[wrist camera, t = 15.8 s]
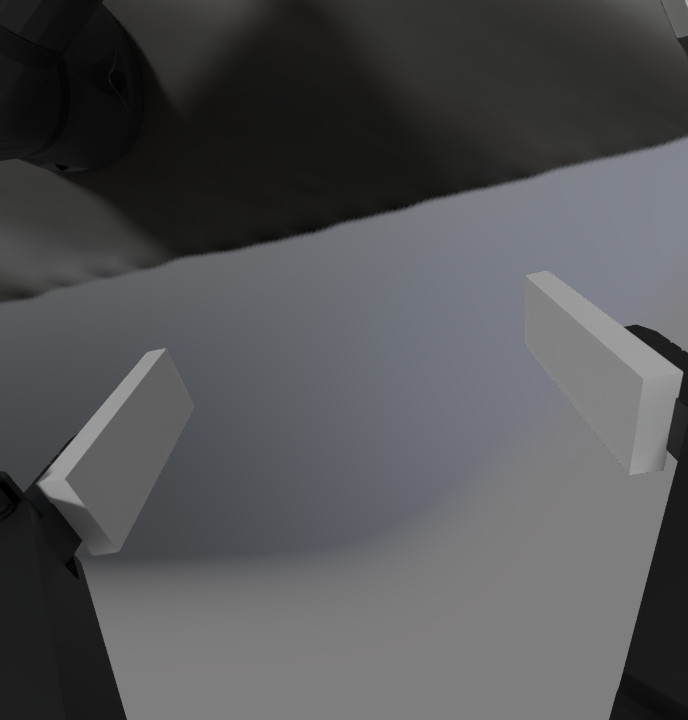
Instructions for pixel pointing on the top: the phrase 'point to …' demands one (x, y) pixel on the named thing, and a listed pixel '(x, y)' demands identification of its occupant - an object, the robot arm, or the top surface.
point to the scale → (677, 16)
